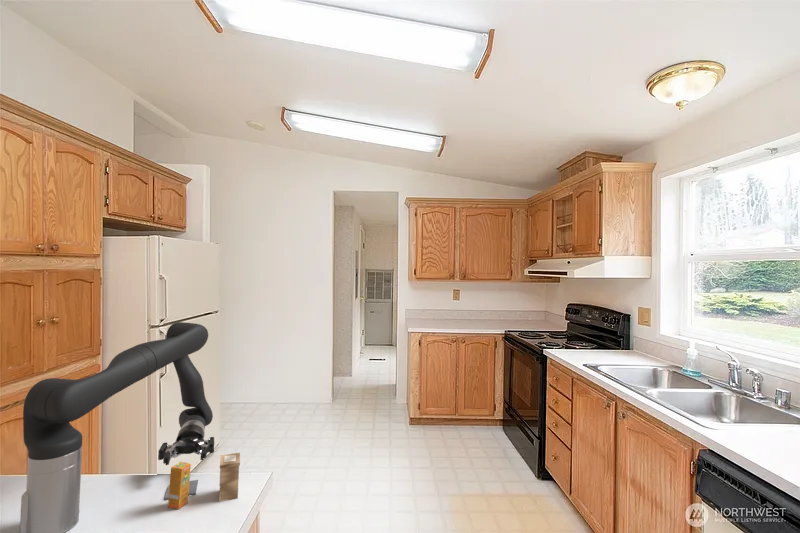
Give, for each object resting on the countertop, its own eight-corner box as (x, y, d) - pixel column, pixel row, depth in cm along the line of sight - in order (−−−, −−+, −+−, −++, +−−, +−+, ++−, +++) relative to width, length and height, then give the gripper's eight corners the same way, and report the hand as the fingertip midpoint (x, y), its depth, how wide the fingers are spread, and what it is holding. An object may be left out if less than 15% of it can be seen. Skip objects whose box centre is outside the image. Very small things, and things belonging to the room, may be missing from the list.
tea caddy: (218, 502, 99) (219, 464, 99) (219, 490, 105) (220, 454, 105) (238, 498, 101) (240, 462, 101) (238, 486, 106) (239, 452, 107)
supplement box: (179, 510, 95) (181, 469, 96) (167, 508, 96) (169, 467, 96) (189, 502, 99) (191, 462, 99) (177, 500, 99) (179, 461, 100)
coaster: (164, 500, 99) (165, 498, 99) (169, 485, 106) (169, 484, 106) (195, 494, 102) (195, 492, 102) (198, 481, 108) (198, 479, 108)
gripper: (165, 426, 120) (155, 449, 105) (216, 421, 125) (213, 442, 110) (164, 451, 120) (154, 477, 105) (215, 444, 125) (212, 468, 110)
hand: (184, 459), depth 108 cm, fingers open, 8 cm apart
